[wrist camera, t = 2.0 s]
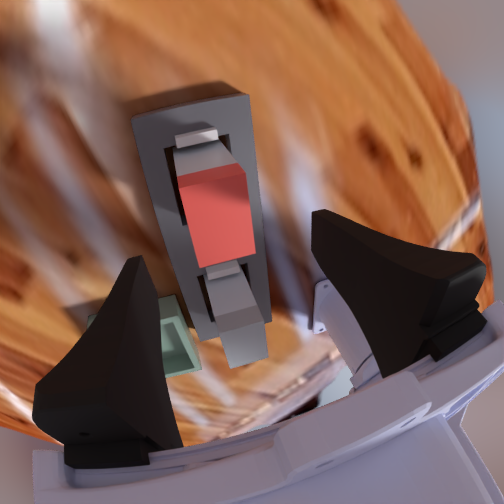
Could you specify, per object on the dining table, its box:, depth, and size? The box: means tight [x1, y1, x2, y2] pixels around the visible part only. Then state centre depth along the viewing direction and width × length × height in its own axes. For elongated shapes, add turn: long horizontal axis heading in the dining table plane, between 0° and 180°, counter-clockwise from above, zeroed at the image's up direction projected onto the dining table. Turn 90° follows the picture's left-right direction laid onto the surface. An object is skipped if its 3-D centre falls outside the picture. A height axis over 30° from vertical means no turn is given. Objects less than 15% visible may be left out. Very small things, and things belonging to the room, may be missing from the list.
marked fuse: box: [172, 139, 256, 268], centre depth 17 cm, size 3×4×7 cm, turn 6°
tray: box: [87, 294, 202, 378], centre depth 26 cm, size 8×8×2 cm
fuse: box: [203, 265, 268, 369], centre depth 23 cm, size 3×4×7 cm, turn 6°
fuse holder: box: [131, 93, 272, 342], centre depth 22 cm, size 7×20×2 cm, turn 6°
